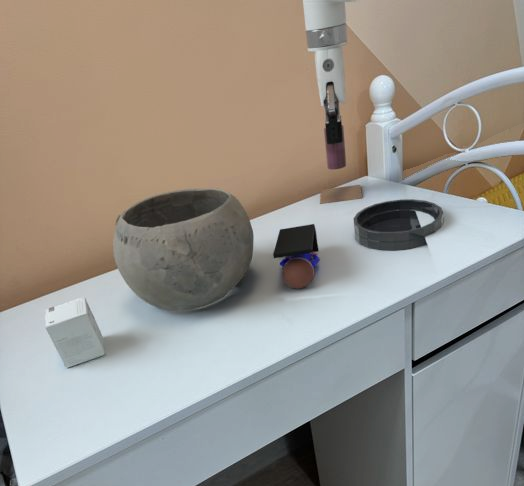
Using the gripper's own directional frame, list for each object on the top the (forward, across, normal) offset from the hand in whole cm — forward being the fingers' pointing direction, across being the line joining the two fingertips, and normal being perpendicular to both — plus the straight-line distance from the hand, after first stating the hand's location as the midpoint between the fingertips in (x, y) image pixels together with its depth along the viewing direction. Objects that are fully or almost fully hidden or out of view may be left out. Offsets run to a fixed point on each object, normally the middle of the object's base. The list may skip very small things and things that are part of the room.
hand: (334, 139), depth 104 cm
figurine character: (+12, -35, +7) cm, 38 cm away
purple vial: (+6, 0, 0) cm, 6 cm away
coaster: (+12, 0, 0) cm, 12 cm away
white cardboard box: (+12, -54, +39) cm, 68 cm away
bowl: (+12, -37, +25) cm, 46 cm away
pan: (+12, -24, -10) cm, 29 cm away
